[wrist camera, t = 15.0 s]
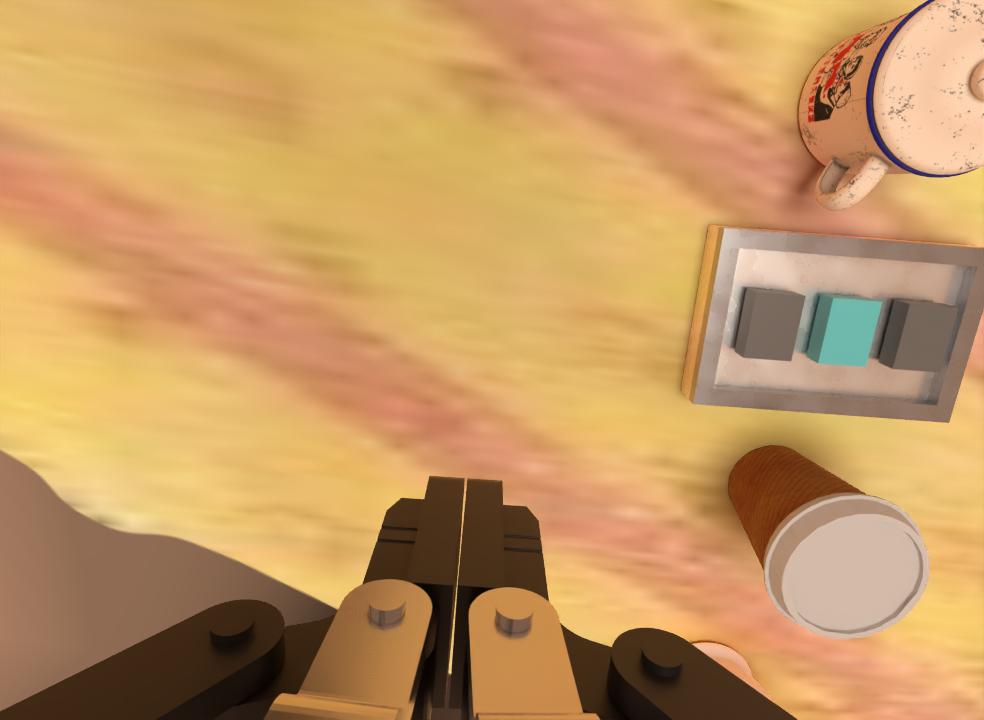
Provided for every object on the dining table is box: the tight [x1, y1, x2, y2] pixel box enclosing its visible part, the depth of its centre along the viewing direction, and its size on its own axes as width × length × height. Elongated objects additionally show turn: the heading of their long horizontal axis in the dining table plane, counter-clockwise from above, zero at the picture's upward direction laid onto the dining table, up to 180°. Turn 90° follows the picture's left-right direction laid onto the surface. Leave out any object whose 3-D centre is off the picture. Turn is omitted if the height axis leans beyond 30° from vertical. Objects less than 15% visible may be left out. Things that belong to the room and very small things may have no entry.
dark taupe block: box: [878, 299, 959, 373], centre depth 41 cm, size 4×3×2 cm
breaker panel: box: [681, 225, 984, 423], centre depth 43 cm, size 12×18×3 cm, turn 86°
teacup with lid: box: [799, 0, 984, 211], centre depth 35 cm, size 12×9×12 cm
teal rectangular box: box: [807, 294, 882, 367], centre depth 41 cm, size 4×3×2 cm
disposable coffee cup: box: [728, 446, 929, 639], centre depth 42 cm, size 10×10×12 cm
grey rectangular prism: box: [734, 288, 806, 361], centre depth 41 cm, size 4×3×2 cm
